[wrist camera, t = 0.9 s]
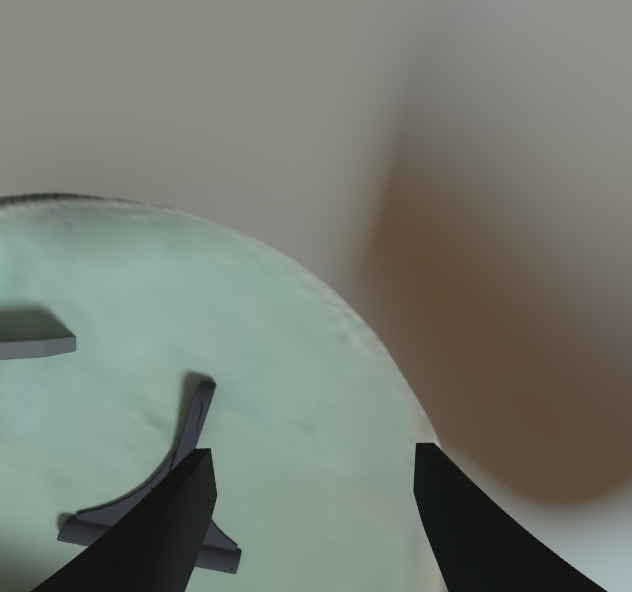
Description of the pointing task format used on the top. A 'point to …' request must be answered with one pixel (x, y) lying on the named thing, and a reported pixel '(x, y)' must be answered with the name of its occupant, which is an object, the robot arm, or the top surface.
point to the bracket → (96, 522)
